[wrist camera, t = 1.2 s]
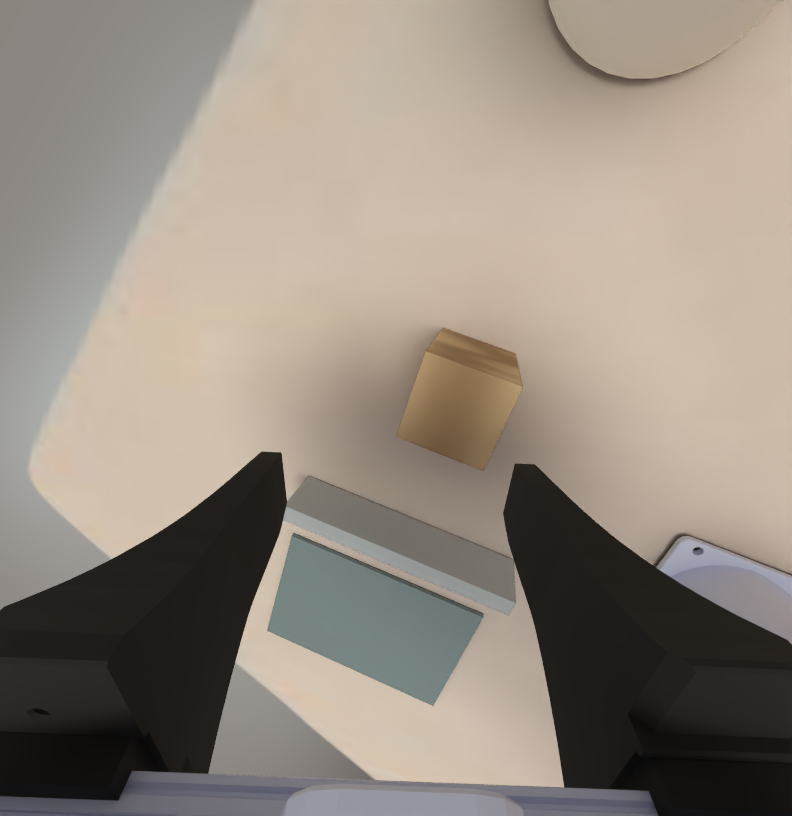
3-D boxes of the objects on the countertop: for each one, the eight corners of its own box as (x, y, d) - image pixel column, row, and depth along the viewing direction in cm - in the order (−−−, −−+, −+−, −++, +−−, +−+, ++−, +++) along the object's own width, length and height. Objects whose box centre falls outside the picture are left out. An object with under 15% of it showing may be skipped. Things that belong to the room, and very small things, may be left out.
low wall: (513, 559, 25) (516, 603, 22) (507, 571, 26) (508, 615, 23) (308, 475, 27) (283, 505, 24) (305, 487, 27) (280, 518, 24)
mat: (483, 614, 27) (482, 617, 27) (433, 702, 31) (433, 705, 31) (293, 533, 29) (291, 536, 28) (269, 627, 33) (267, 630, 32)
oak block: (515, 353, 21) (522, 386, 16) (486, 419, 23) (483, 470, 17) (443, 327, 22) (425, 351, 16) (419, 394, 23) (396, 436, 18)
